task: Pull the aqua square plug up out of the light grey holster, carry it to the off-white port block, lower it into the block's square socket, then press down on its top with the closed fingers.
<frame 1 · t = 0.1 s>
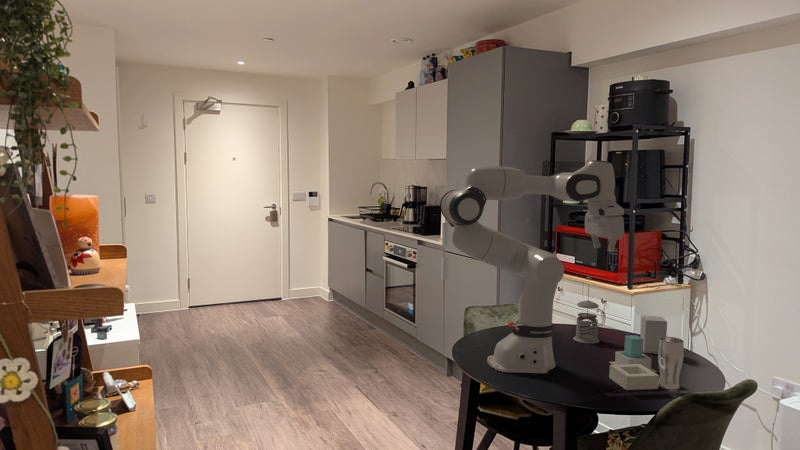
hand: (604, 249, 187), 39 cm above the table, tool pointing down, fingers open, 8 cm apart
french press: (588, 340, 217), on the table
port block: (632, 386, 169), on the table
beer glass: (668, 388, 168), on the table
supplement box: (652, 352, 202), on the table
holster: (632, 369, 184), on the table
plug: (632, 366, 184), point 1 cm above the table, touching holster
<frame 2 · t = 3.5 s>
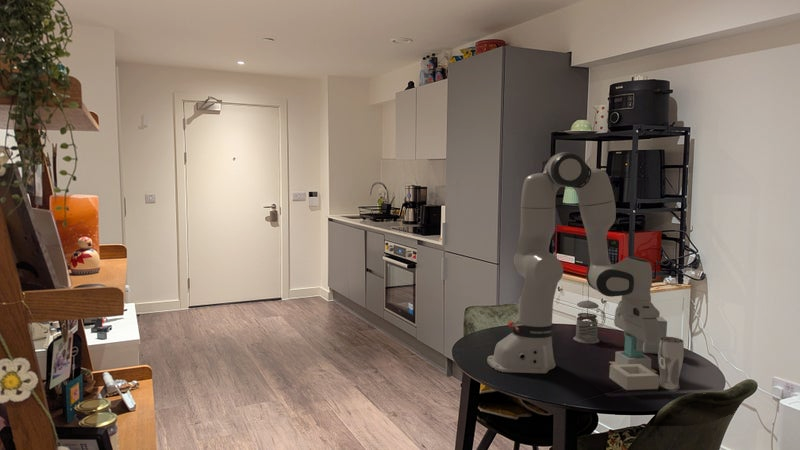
hand: (633, 347, 183), 7 cm above the table, tool pointing down, fingers closed on plug, 4 cm apart
plug: (632, 366, 184), point 1 cm above the table, touching gripper, holster
everything else where it was.
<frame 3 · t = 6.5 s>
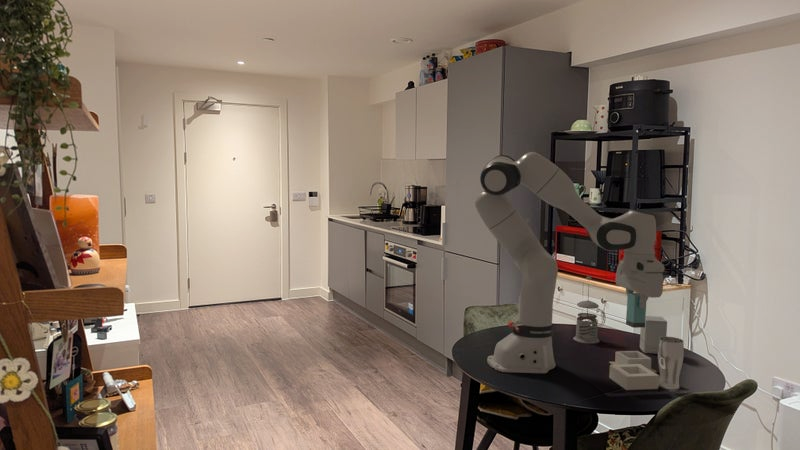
hand: (636, 305, 175), 23 cm above the table, tool pointing down, fingers closed on plug, 4 cm apart
plug: (635, 325, 176), point 16 cm above the table, touching gripper
everything else where it was.
when the fingers open (9 cm above the table, at t = 9.4 s): plug drops 2 cm, resting on port block.
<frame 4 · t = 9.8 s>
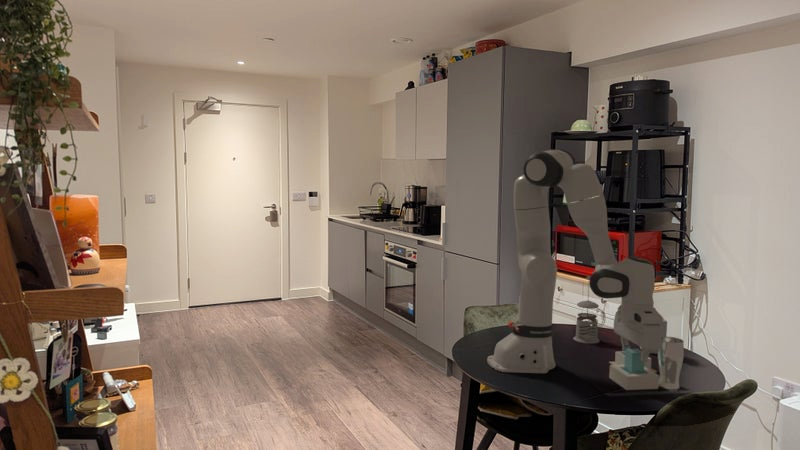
hand: (634, 356, 168), 9 cm above the table, tool pointing down, fingers open, 8 cm apart
plug: (633, 382, 169), point 1 cm above the table, touching port block
everything else where it was.
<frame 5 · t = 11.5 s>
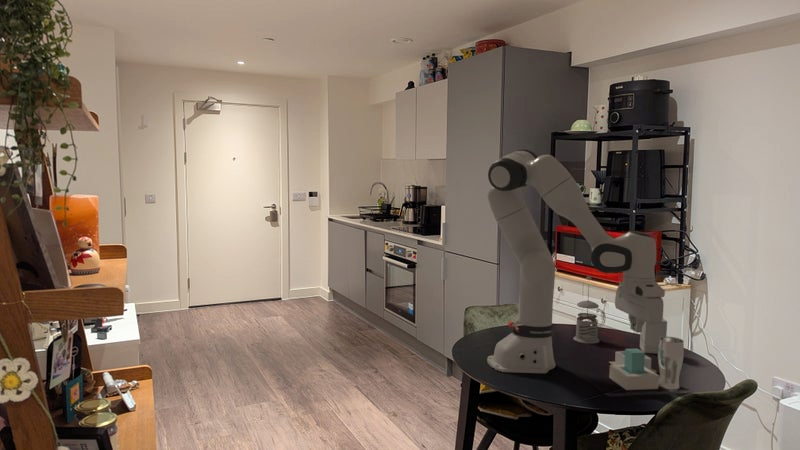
hand: (636, 330, 167), 17 cm above the table, tool pointing down, fingers closed
nothing on the table moved.
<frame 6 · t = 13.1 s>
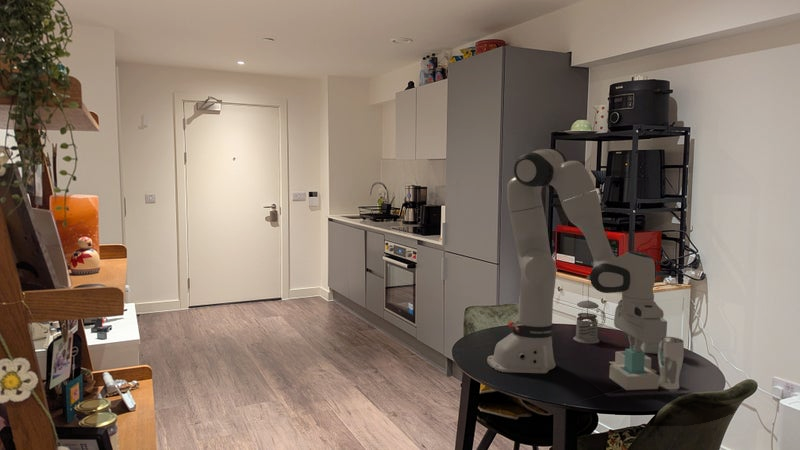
hand: (635, 350, 168), 11 cm above the table, tool pointing down, fingers closed, pressing on plug
plug: (633, 382, 169), point 1 cm above the table, touching gripper, port block
everything else where it was.
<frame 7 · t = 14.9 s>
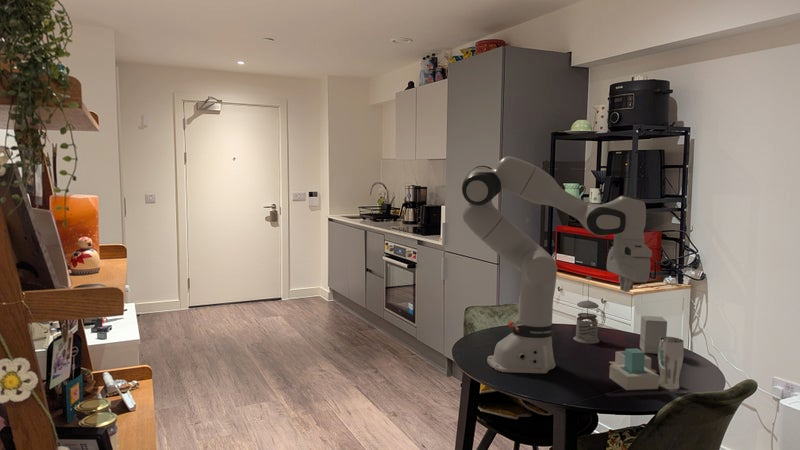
hand: (624, 290, 176), 27 cm above the table, tool pointing down, fingers closed
plug: (633, 382, 169), point 1 cm above the table, touching port block
everything else where it was.
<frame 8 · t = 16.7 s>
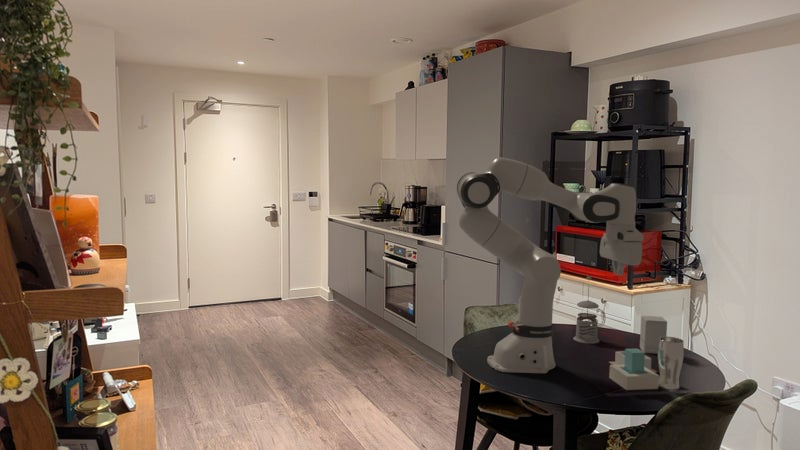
hand: (618, 274, 183), 31 cm above the table, tool pointing down, fingers closed
nothing on the table moved.
at the end: plug 0.1 cm off-centre on the port block, point 1.0 cm above the port block's base; plug tilted 0°; the gripper is holding nothing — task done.
